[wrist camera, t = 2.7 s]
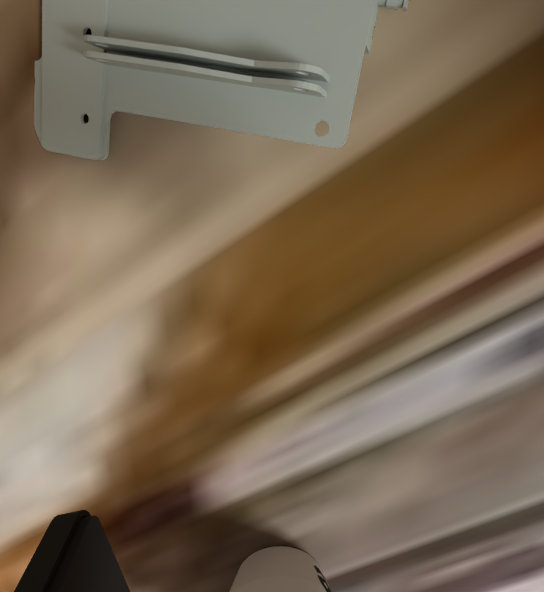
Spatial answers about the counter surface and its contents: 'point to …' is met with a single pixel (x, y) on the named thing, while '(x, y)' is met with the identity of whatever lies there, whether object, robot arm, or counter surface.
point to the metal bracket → (200, 67)
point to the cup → (280, 572)
